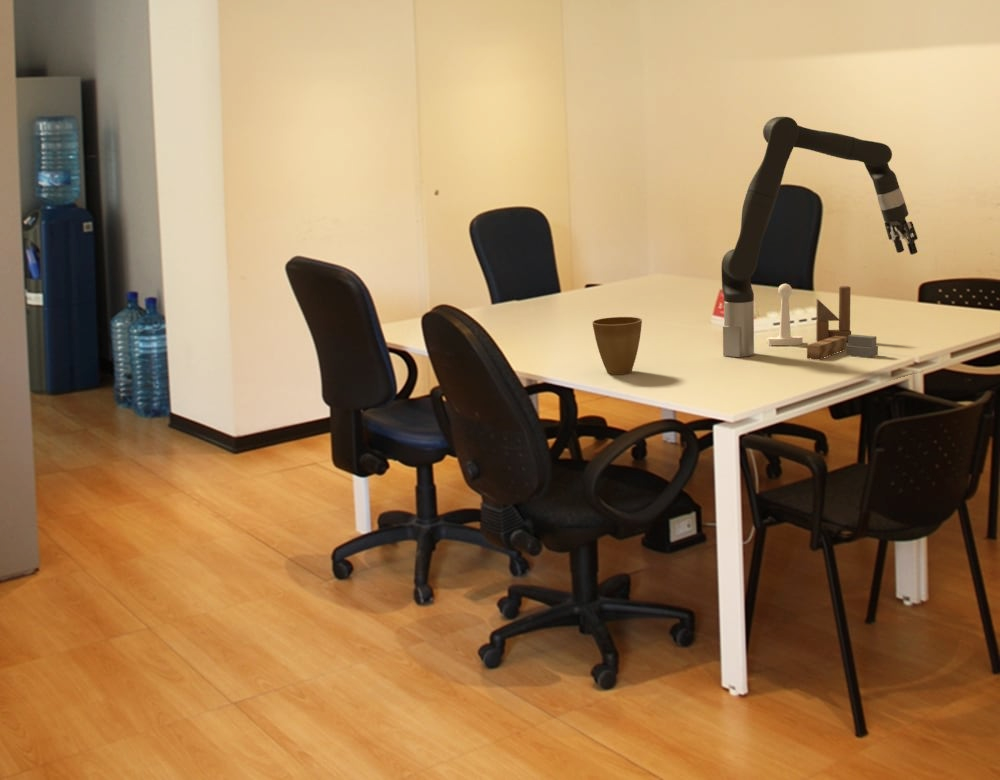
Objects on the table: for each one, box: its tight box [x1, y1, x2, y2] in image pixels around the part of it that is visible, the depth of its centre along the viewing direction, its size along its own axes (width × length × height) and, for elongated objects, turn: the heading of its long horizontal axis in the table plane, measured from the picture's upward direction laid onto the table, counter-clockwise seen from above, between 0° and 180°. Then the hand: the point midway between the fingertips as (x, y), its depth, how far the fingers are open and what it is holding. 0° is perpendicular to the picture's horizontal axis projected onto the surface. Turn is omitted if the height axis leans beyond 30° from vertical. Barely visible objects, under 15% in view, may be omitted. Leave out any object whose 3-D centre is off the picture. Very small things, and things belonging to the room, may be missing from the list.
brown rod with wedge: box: [815, 285, 852, 342], centre depth 408 cm, size 4×11×18 cm, turn 82°
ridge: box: [845, 333, 879, 359], centre depth 385 cm, size 5×8×6 cm, turn 45°
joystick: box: [766, 283, 803, 346], centre depth 408 cm, size 11×8×20 cm
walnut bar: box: [806, 336, 847, 360], centre depth 389 cm, size 18×4×4 cm, turn 138°
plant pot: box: [591, 316, 643, 375], centre depth 377 cm, size 15×15×16 cm
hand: (907, 252), depth 393 cm, fingers open, 8 cm apart
